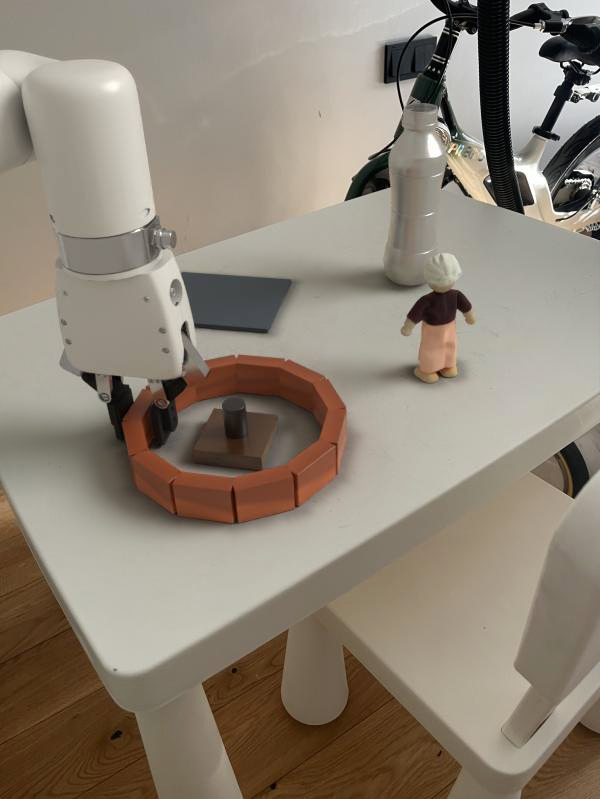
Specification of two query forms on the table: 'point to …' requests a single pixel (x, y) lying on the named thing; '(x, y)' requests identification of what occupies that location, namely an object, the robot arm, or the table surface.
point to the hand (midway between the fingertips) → (146, 431)
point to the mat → (234, 300)
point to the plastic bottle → (414, 195)
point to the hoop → (255, 489)
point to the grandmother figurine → (438, 318)
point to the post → (236, 437)
